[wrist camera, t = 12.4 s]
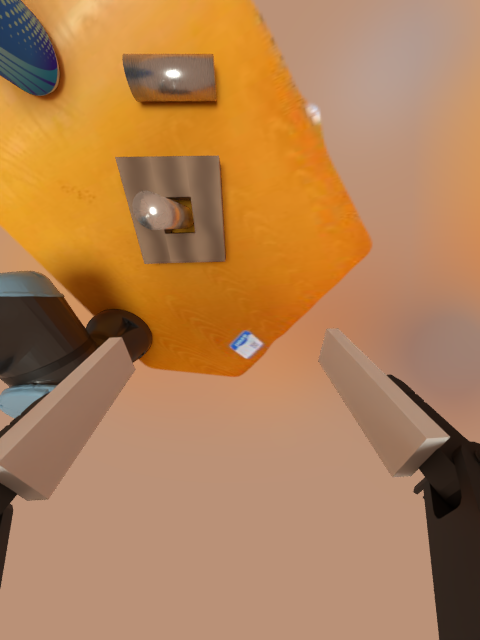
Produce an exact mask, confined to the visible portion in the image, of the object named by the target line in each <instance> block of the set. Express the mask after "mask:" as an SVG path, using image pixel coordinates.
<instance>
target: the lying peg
mask: <svg viewBox="0 0 480 640" xmlns="http://www.w3.org/2000/svg"><path fill="white" fill-rule="evenodd" d="M123 66H124V71H125V74H126V78H127V81H128V84H129V87H130V89H131V92H132V94H133V96H134V98H135V99H136V101H138V102H153V101H216V81H215V67H214V56H213V54H123Z"/></svg>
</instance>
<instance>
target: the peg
mask: <svg viewBox="0 0 480 640" xmlns="http://www.w3.org/2000/svg"><path fill="white" fill-rule="evenodd" d="M132 207H133V212H134V215H135V217H136V219H137V220H138V222H139V223H140V224H141V225H142V226H144V227H145V228H147V229H150V230H163V229H182V228H189V227H190V226H191V225H192V224H193V221H194V219H193V213H192V211H191V210H190V209H189V208H188V207H187V206H185V205H182V204H180V203H177V202H175V201H173V200H170V199H168V198H165V197H163V196H161V195H158V194H156V193H153V192H151V191H141V192H139V193H137V194H136V196H135V197H134V199H133V204H132Z"/></svg>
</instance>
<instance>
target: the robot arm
mask: <svg viewBox="0 0 480 640" xmlns="http://www.w3.org/2000/svg"><path fill="white" fill-rule="evenodd" d="M151 343H152V335H151V332H150V329H149V328H148V326H147V325H146V324H145V323H144V321H142V320H141V319H140V318H139V317H137V316H136V315H134V314H132V313H130V312H127V311H124V310H119V309H109V310H105V311H102V312H100V313H99V314H97V315H96V316H94V317H93V318H92V319H91V320H90V321H89V323H88V324H87V327H86V329H85V327H84V326H83V325H82V323H81V322H80V320H79V319H78V317H77V316H76V315H75V313H74V312H73V310H72V309H71V307H70V306H69V305H68V303H67V301H66V300H65V298H64V295H63V294H61V293H60V292H59V291H58V290H57V288H56V287H55V286H54V285H53V283H52V282H51V281H50V279H49V278H47V277H46V276H45V275H43V274H41V273H38V272H34V271H19V272H7V273H0V379H1V380H2V381H4V382H5V383H6V384H7V385H8V386H9V388H8V389H5V390H4V391H3V392H2V393H1V395H0V409H1V410H2V411H3V412H4V413H6V414H7V415H9V416H11V417H13V418H15V419H14V420H13V421H12V422H11V423H10V425H8V426H6V427H5V428H4V429H3V430H1V431H0V587H1V581H2V575H3V569H4V563H5V557H6V551H7V545H8V539H9V533H10V527H11V521H12V515H13V507H12V505H11V504H10V502H11V501H12V500H13V499H14V497H15V496H16V495H19V496H21V497H22V498H24V499H25V500H27V501H30V500H45V499H49V498H50V496H51V495H52V493H53V492H54V490H55V489H56V487H57V486H58V484H59V483H60V481H61V480H62V478H63V477H64V475H65V474H66V472H67V471H68V469H69V468H70V466H71V465H72V463H73V462H74V460H75V459H76V458H77V456H78V455H79V453H80V451H81V450H82V449H83V447H84V446H85V444H86V443H87V441H88V439H89V438H90V437H91V435H92V434H93V432H94V431H95V429H96V428H97V426H98V425H99V423H100V422H101V420H102V419H103V417H104V416H105V414H106V413H107V411H108V410H109V408H110V407H111V405H112V404H113V402H114V401H115V399H116V398H117V396H118V395H119V393H120V392H121V390H122V389H123V387H124V386H125V384H126V383H127V381H128V380H129V378H130V377H131V375H132V374H133V372H134V371H135V368H134V365H133V362H134V361H136V360H138V359H139V358H141V357H142V356H143V355H144V354H145V353H146V352H147V351H148V349H149V348H150V346H151ZM318 362H319V363H320V365H321V366H322V368H323V369H324V371H325V373H326V374H327V376H328V377H329V379H330V380H331V382H332V384H333V385H334V387H335V388H336V390H337V391H338V393H339V395H340V396H341V398H342V399H343V401H344V402H345V404H346V406H347V407H348V409H349V410H350V412H351V413H352V415H353V416H354V418H355V419H356V421H357V422H358V424H359V426H360V427H361V429H362V431H363V432H364V434H365V435H366V437H367V438H368V440H369V442H370V443H371V445H372V446H373V448H374V449H375V451H376V453H377V454H378V455H379V457H380V459H381V460H382V462H383V464H384V465H385V467H386V468H387V470H388V471H389V473H390V474H391V476H392V477H404V476H412V475H413V474H414V473H415V472H416V471H417V470H418V469H420V471H421V472H422V473H423V474H424V476H425V478H424V479H423V480H422V481H421V482H419V483H418V484H417V485H416V486H415V488H414V493H416V494H418V493H420V492H421V491H422V490H424V496H423V498H424V499H425V507H426V508H425V509H426V518H427V528H428V537H429V546H430V556H431V565H432V575H433V583H434V593H435V603H436V612H437V622H438V631H439V640H480V444H479V443H476V442H470V441H468V440H467V439H466V438H465V437H463V436H462V435H461V434H460V433H459V432H458V431H457V430H456V429H455V428H453V427H452V426H451V425H450V424H449V423H448V422H447V421H446V420H445V419H444V418H442V417H441V416H440V415H439V414H438V413H437V412H436V411H435V410H434V409H432V407H430V406H429V405H428V404H427V403H425V402H424V400H423V399H422V398H421V397H419V396H418V395H417V394H415V392H414V391H413V390H411V388H409V387H408V386H407V385H406V384H405V383H404V382H402V381H401V380H399V379H397V378H395V377H394V376H393V375H386V374H385V373H383V372H382V371H381V370H380V369H379V368H378V367H377V366H376V365H375V364H374V363H373V362H372V361H371V360H370V359H369V358H368V357H367V356H366V355H365V354H364V353H363V352H362V351H361V350H360V349H359V348H358V347H357V346H356V345H355V344H354V343H352V342H351V341H350V340H349V339H348V338H347V337H346V336H345V335H344V334H343V333H342V332H341V331H340V330H339V329H326V333H325V337H324V341H323V344H322V348H321V352H320V356H319V360H318Z"/></svg>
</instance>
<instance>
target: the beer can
mask: <svg viewBox="0 0 480 640" xmlns="http://www.w3.org/2000/svg"><path fill="white" fill-rule="evenodd" d="M0 75H1V76H2V77H4V78H5V79H7V80H8V81H10V82H11V83H13V84H14V85H16V86H18V87H19V88H21V89H22V90H24V91H26V92H28V93H30V94H33V95H37V96H44V95H47V94H49V93H51V92H53V91H54V90H55V89H56V88H57V86H58V83H59V78H60V71H59V65H58V61H57V57H56V54H55V51H54V48H53V45H52V43H51V41H50V39H49V36H48V35H47V33H46V31H45V29H44V28H43V26H42V25H41V23H40V22H39V20H38V19H37V18H36V17H35V15H34V14H33V13H32V12H31V11H30V10H29V9H28V8H27V7H26V6H25V4H24V3H23V2H22V1H21V0H0Z"/></svg>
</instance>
